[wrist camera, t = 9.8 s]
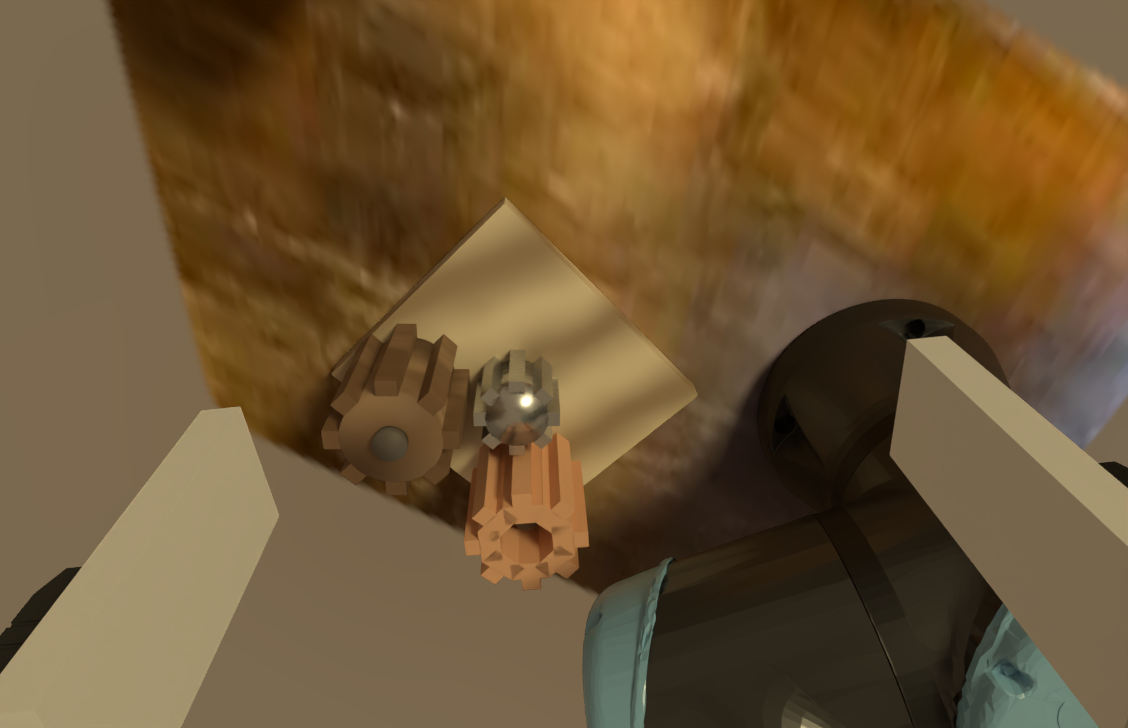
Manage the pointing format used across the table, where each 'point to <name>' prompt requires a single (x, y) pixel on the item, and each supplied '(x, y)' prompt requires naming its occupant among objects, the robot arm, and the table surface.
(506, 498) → the planet gear
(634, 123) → the table surface
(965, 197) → the table surface
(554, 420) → the sun gear
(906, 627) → the robot arm
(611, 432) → the carrier
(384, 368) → the pinned planet gear
